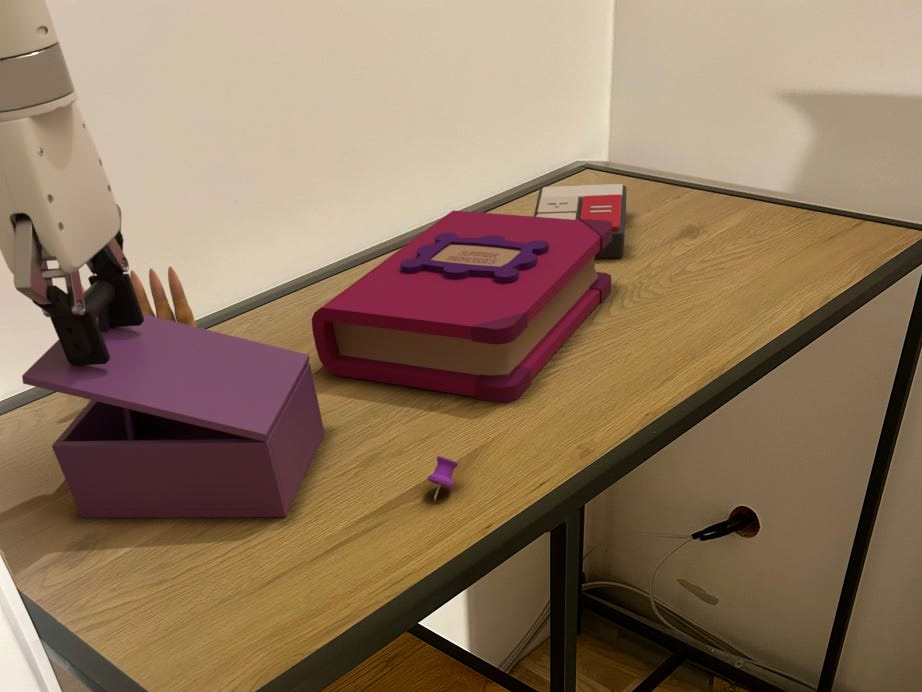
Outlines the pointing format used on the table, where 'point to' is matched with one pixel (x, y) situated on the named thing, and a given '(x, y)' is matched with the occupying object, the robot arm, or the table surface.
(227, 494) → the box
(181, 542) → the table surface
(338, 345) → the book
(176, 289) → the ammunition clip
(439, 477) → the pushpin
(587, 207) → the calculator
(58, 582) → the table surface
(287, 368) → the lid
